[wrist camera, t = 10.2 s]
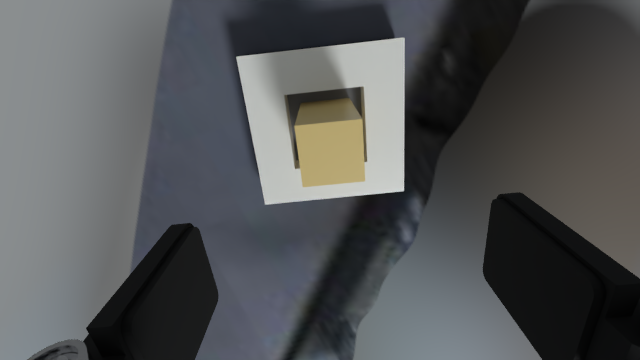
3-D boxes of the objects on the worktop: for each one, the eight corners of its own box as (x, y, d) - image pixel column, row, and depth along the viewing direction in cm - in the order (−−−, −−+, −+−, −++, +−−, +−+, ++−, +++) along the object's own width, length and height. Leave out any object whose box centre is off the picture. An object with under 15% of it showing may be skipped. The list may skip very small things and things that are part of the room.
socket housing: (396, 38, 24) (404, 37, 22) (396, 179, 29) (403, 191, 26) (243, 55, 24) (236, 56, 22) (269, 192, 29) (265, 204, 27)
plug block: (349, 97, 25) (362, 118, 18) (352, 144, 27) (365, 181, 20) (300, 102, 26) (294, 125, 18) (306, 149, 27) (302, 187, 20)
